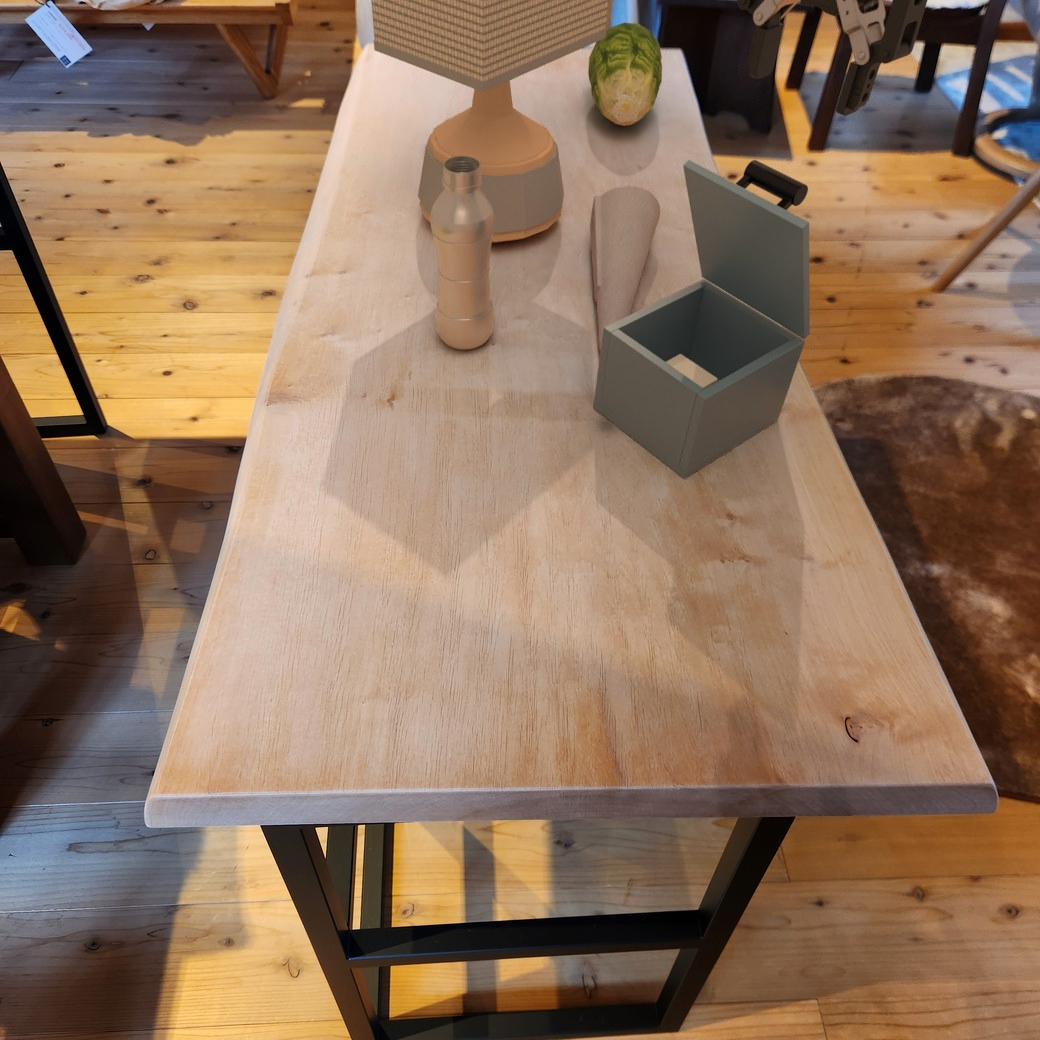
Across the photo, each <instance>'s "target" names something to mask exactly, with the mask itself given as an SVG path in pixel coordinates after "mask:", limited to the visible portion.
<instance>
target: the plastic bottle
mask: <svg viewBox="0 0 1040 1040" xmlns="http://www.w3.org/2000/svg"><path fill="white" fill-rule="evenodd" d="M442 185H443V187H444V188H445V189H444V190H443V191H442V193H441V194H440V195H439V197H438V198H437V200H436V201H435V203H434V205H433V207H432V211H431V215H430V221H429V222H430V228H431V229H430V230H431V235H432V238H433V244H434V248H435V253H436V263H437V272H438V284H437V285H438V286H437V287H438V288H437V301H436V302H437V303H436V306H435V315H434V324H435V328H436V332H437V335H438V337H439V338H440V340H442V342H443V343H444V344H446V345H447V346H449V347H450V348H453V349H457V350H473V349H476V348H479V347H481V346H482V345H483V344H485V343H486V342H487V341H488V340H489V338H491V335H492V334H493V330H494V326H495V320H496V317H495V311H494V305H493V304H494V303H493V301H492V298H491V297H492V296H491V284H490V264H491V249H492V243H493V242H492V237H493V230H494V223H495V215H494V211H493V208H492V205H491V203H490V202H489V200H488V199H487V197H486V195H485V194H484V193H483V192H482V190H481V189H480V187H481V185H482V176H481V163H480V161H479V160H477V159H476V158H473V157H470V156H455V157H451V158H449V159H447V160H446V161H445V162H444V163H443V177H442Z"/></svg>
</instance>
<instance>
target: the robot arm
mask: <svg viewBox="0 0 1040 1040" xmlns="http://www.w3.org/2000/svg"><path fill="white" fill-rule="evenodd" d="M798 3H799V4H800V5H803V6H805V7H808V8H810V7H811V8H813V7H817V8H818V9H820V10H821V11H823V12H824V13H825V14H826V15H830V16H833V17H835V16H838V15H839V18H840V22H841V27H842V30H843V32H844V34H847V35H848V38H849V42H850V46H851V51H852V55H853V59H854V60H853V61H850V62H849V65H848V68H847V72H846V75H845V78H844V82H843V85H842V88H841V91H840V95H839V97H838V100H837V101H838V102H837V103H836V108H835V112H836V113H837V114H839V115H841V116H844V117H846V116H849V115H852V114H854V113H856V112H857V111H858V110H859V109H860V108H862V107H864V106H865V105H866V104H867V103H868V102H869V100H870V97H871V93H872V91H873V88H874V84H875V81H876V78H877V76H878V72H879V69H880V67H881V65H882V64H884V65H885V64H886V65H887V64H889V63H892V62H894V61H897V60H900V59H902V58H905V57H907V56H909V55H910V54H912V52H913V50H914V47H915V44H916V40H917V37H918V34H919V30H920V26H921V24H922V20H923V16H924V13H925V10H926V6H927V3H928V0H892V1H891V6H890V9H889V14H888V16H887V19H886V15H887V14H886V13H887V12H886V8H885V3H884V0H737V1H736V4H737V6H738V8H739V10H741V11H745V10H746V11H747V13H749V14H750V15H751V16H752V20H753V22H754V30H753V34H752V37H751V38H752V39H751V43H750V48H749V53H748V57H747V66H748V68H749V72H748V73H749V74H748V75H749V76H750V77H751V78H754V79H757V80H759V79H763V78H766V77H768V76H770V75H771V74H772V73H773V70H774V67H775V64H776V59H777V57H778V51H779V47H780V43H781V39H782V34H783V31H784V27H785V24H784V23H781V20H782V19H783V18H785V16H786V15H787V14H788V13H789V12H790V11H791V10H792V9H793V8H794V7H795V6H796V5H797V4H798ZM862 5H863V12H862V11H861V10H860V7H861V6H862ZM885 19H886V22H885V23H886V24H885V23H884V21H885Z"/></svg>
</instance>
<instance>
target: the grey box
mask: <svg viewBox="0 0 1040 1040" xmlns="http://www.w3.org/2000/svg"><path fill="white" fill-rule="evenodd" d="M805 343H806V340H805V339H803V338H801V337H799V336H798V335H796V334H794V333H793V332H791V331H790V330H788V329H786V328H785V327H783V326H781V325H780V324H778V323H776V322H775V321H773V320H771V319H770V318H768V317H767V316H765V315H763V314H762V313H760V312H758V311H757V310H755V309H753V308H752V307H750V306H748V305H747V304H745V303H744V302H742V301H740V300H739V299H737V298H735V297H734V296H732V295H730V294H729V293H727V292H726V291H724V290H722V289H721V288H719V287H717V286H716V285H714V284H712V283H711V282H709V281H707V280H706V279H704V278H702V279H701V280H699V281H696V282H694V283H692V284H690V285H688V286H686V287H684V288H682V289H680V290H678V291H675V292H673V293H672V294H670V295H667V296H666V297H663V298H662V299H660V300H657V301H655V302H653V303H652V304H651V303H650V304H649V305H647V306H645V307H643V308H641V309H639V310H637V311H634V312H632V313H630V315H629V316H627V317H624V318H622V319H620V320H618V321H616V322H614V323H612V324H610V325H608V326H606V327H604V328H603V336H602V344H601V352H600V351H599V360H598V369H597V376H596V383H595V392H594V398H593V406H592V407H593V409H594V410H595V411H597V412H598V414H600V415H602V416H603V417H604V418H605V419H606V420H608V421H609V422H610V423H612V424H613V425H614V426H616V427H617V428H618V429H620V430H621V431H622V432H623V433H625V434H626V435H627V436H629V437H630V438H631V439H632V440H634V441H635V442H636V443H638V444H639V445H640V446H641V447H643V448H644V449H645V450H646V451H648V452H649V453H650V454H652V456H654V457H656V458H657V459H658V460H659V461H661V462H662V463H663V464H664V465H666V466H667V467H668V468H669V469H671V470H672V471H673V472H675V473H676V474H677V475H678V476H679V477H681V478H683V480H686V479H688V478H689V477H690V476H692V475H695V473H697V472H699V471H700V470H702V469H703V468H705V467H707V466H708V465H710V464H711V463H713V462H714V461H716V460H717V459H719V458H721V457H722V456H724V455H725V454H726V453H728V452H730V451H732V450H733V449H735V448H736V447H738V446H740V445H742V444H743V443H745V442H746V441H747V440H749V439H751V438H752V437H754V436H756V435H757V434H759V433H760V432H762V431H763V430H765V429H767V428H768V427H770V426H772V425H773V424H775V423H776V422H778V420H779V418H780V415H781V413H782V410H783V406H784V403H785V400H786V398H787V396H788V392H789V389H790V386H791V384H792V380H793V378H794V375H795V372H796V369H797V367H798V363H799V361H800V357H801V355H802V352H803V349H804V346H805ZM679 354H682V355H683V356H685V357H686V358H688V359H689V360H691V361H692V362H694V363H695V364H697V365H698V366H700V367H701V368H703V369H704V370H706V371H707V372H709V373H710V374H712V375H713V376H715V377H716V378H718V381H717V382H716V383H715V384H713V385H711V386H709V387H708V388H706V389H704V388H702V387H701V386H699V385H698V384H696V383H695V382H694V381H692V380H691V379H689V378H688V377H686V376H685V375H683V374H682V373H681V372H679V371H678V370H676V369H675V368H673V367H672V366H671V365H669V364H668V363H666V361H668V360H670V359H672V358H674V357H676V356H677V355H679Z"/></svg>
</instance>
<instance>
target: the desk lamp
mask: <svg viewBox="0 0 1040 1040" xmlns="http://www.w3.org/2000/svg"><path fill="white" fill-rule="evenodd" d="M370 2H371V3H370V4H371V14H372V26H373V37H374V40H373V50H374V51H375V52H377V53H380V54H383V55H385V56H388V57H390V58H393V59H396V60H398V61H401V62H404V63H405V64H409V65H412V66H414V67H416V68H419V69H422V70H423V71H424V70H425V71H427V72H430V73H432V74H434V75H438V76H440V77H443V78H446V79H448V80H451V81H453V82H455V83H458V84H460V85H463V86H466V87H469V88H471V89H474V90H473V95H472V102H471V106H470V107H468V108H467V109H464V110H463V111H461V112H459V113H458V114H456V115H454V116H452V117H450V118H447V119H446V120H444V121H442V122H441V123H440V124H438V125H437V126H435V127H433V130H432V132H431V134H429V137H428V139H427V142H426V144H425V149H424V155H423V160H422V161H423V162H422V167H421V174H420V179H419V186H418V192H417V197H418V199H419V207H420V209H421V212H422V214H423V216H424V219H425V220H427V221H428V222H430V215H431V211H432V207H433V205H434V203H435V201H436V200H437V198H438V197H439V195H440V194H441V193H442V191H443V190H444V189H445V188H444V187H443V185H442V177H443V163H444V162H445V161H446V160H447V159H449V158H451V157H455V156H470V157H473V158H476V159H477V160H479V161H480V163H481V176H482V185H481V187H480V189H481V190H482V192H483V193H484V194H485V195H486V197H487V199H488V200H489V202H490V203H491V205H492V208H493V211H494V215H495V223H494V230H493V237H492V243H505V242H512V241H517V240H523V239H525V238H528V237H531V236H533V235H536V234H538V233H541V232H543V231H547V230H548V229H549V228H550V227H551V226H552V225H554V223H555V222H557V220H558V219H559V218H561V216H562V215H561V214H562V209H563V204H564V203H563V202H564V197H565V191H564V185H563V177H562V169H561V162H560V155H559V148H558V144H557V143H556V141H555V139H554V136H552V134H551V132H550V131H549V129H548V128H547V127H546V126H544V125H542V124H540V123H538V122H537V121H535V120H533V119H532V118H530V117H528V116H527V115H526V114H523V113H522V112H521V111H519V110H517V109H516V108H514V105H513V103H514V102H513V96H512V88H511V87H512V86H511V80H514V79H516V78H518V77H521V76H523V75H525V74H527V73H529V72H532V71H535V70H536V69H538V68H541V67H544V66H546V65H548V64H550V63H552V62H555V61H557V60H559V59H562V58H564V57H566V56H567V55H570V54H572V53H574V52H577V51H579V50H582V49H584V48H586V47H588V46H590V45H593V44H596V42H597V41H600V40H602V39H604V38H606V31H607V30H608V29H607V18H608V9H609V0H370Z"/></svg>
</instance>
